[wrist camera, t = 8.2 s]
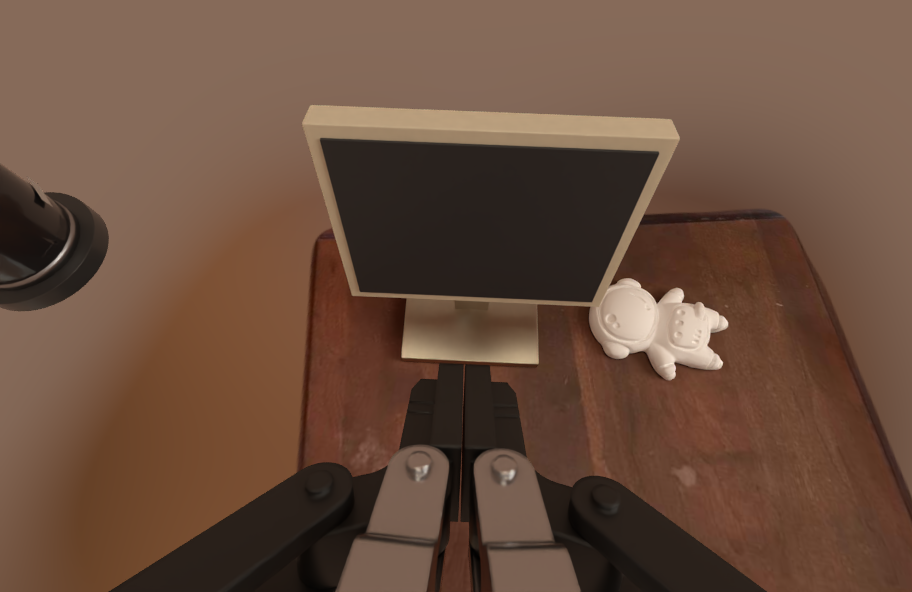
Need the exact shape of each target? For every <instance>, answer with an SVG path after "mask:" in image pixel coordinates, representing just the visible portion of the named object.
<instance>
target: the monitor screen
mask: <svg viewBox="0 0 912 592" xmlns="http://www.w3.org/2000/svg"><path fill="white" fill-rule="evenodd" d="M302 126H303V129H304V132H305V136H306V139H307V143H308V146H309V149H310V153H311V156H312V160H313V163H314V167H315V170H316V174H317V177H318V180H319V184H320V187H321V191H322V194H323V197H324V201H325V204H326V208H327V211H328V215H329V218H330V221H331V225H332V228H333V232H334V235H335V239H336V242H337V246H338V249H339V252H340V256H341V259H342V263H343V266H344V270H345V273H346V277H347V280H348V283H349V287H350V290H351V294H352V296H369V297H391V298H414V299H436V300H458V301H480V302H503V303H525V304H547V305H569V306H592V307H599V306H600V304H601V302H602V300H603V298H604V296H605V293H606V291H607V289H608V287H609V285H610V283H611V281H612V279H613V277H614V275H615V273H616V271H617V269H618V266H619V264H620V262H621V260H622V258H623V256H624V254H625V252H626V250H627V248H628V246H629V244H630V242H631V240H632V237H633V235H634V233H635V231H636V229H637V227H638V225H639V223H640V221H641V219H642V217H643V215H644V213H645V210H646V208H647V206H648V204H649V202H650V200H651V198H652V196H653V194H654V192H655V190H656V188H657V186H658V183H659V181H660V179H661V177H662V175H663V173H664V171H665V169H666V167H667V165H668V163H669V161H670V159H671V157H672V154H673V152H674V150H675V148H676V146H677V144H678V142H679V140H680V137H679V135H678V133H677V131H676V129H675V126H674V124H673V122H672V120H671V119H654V118H653V119H652V118H627V117H603V116H577V115H552V114H525V113H501V112H474V111H450V110H424V109H399V108H398V109H397V108H373V107H347V106H321V105H311V106H310V107H309V109H308V111H307V114H306V116H305V118H304V120H303V122H302Z"/></svg>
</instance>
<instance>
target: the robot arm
mask: <svg viewBox="0 0 912 592" xmlns="http://www.w3.org/2000/svg"><path fill="white" fill-rule="evenodd" d="M28 179H29V180H30V182H31V184H32V185H31V184H30V183H28V182H27V181H25V180H24V179H23V178H21V177H20V176H18V175H17V174H15V173H14V172H12V171H11V170H9V169H8V168H6V167H5V166H3V165H2V164H0V290H4V291H12V290H20V289H24V288H28V287H31V286H34V285H36V284H38V283H40V282H42V281H44V280H46V279H48V278H49V277H51V276H52V275H54V274H55V273H56V272H57V271H59V270H60V269H61V268H62V267H63V266H64V265H65V264H66V263H67V261H68V260H69V259H70V258H71V256H72V255H73V253H74V251H75V249H76V247H77V244H78V241H79V237H80V226H79V222H78V220H77V218H76V216H75V215H74V213H73V212H71V211H70V210H69V209H68V208H66V207H65V206H63V205H62V204H60V203H59V202H57V201H55V200H53V199H51V198H50V197H48V196H47V195H45V194H44V193H43V191H42V190H41V188H40V187H39V185H38V184H37V183H36V182H35V181H33V180H32V179H30V178H29V177H28ZM462 409H463V430H462ZM461 451H462V481H461V522H469V548H468V557H469V570H470V583H471V592H767V591H765V590H764V589H763V588H761V587H760V586H759V585H757V584H756V583H754V582H753V581H752V580H750V579H749V578H748V577H746V576H745V575H744V574H742V573H741V572H740V571H738V570H737V569H736V568H734V567H733V566H731V565H730V564H729V563H727V562H726V561H725V560H723V559H722V558H721V557H719V556H718V555H717V554H715V553H714V552H712V551H711V550H710V549H708V548H707V547H706V546H704V545H703V544H702V543H700V542H699V541H698V540H696V539H695V538H694V537H692V536H691V535H689V534H688V533H687V532H685V531H684V530H683V529H681V528H680V527H679V526H677V525H676V524H675V523H673V522H672V521H671V520H669V519H668V518H666V517H665V516H664V515H662V514H661V513H660V512H658V511H657V510H656V509H654V508H653V507H652V506H650V505H649V504H647V503H646V502H645V501H643V500H642V499H641V498H639V497H638V496H637V495H635V494H634V493H633V492H631V491H630V490H629V489H627V488H626V487H624V486H623V485H621V484H620V483H618V482H616V481H614V480H612V479H609V478H606V477H601V476H588V477H584V478H581V479H580V480H578V481H577V482H576V483H575V484H574V485H573V488H572V487H569V486H566V485H563V484H559V483H556V482H553V481H551V480H549V479H547V478H545V477H543V476H541V475H540V474H539V473H538V472H536V471H535V470H534V467H533V465H532V464H531V462H530V461H529V460H528V459H527V456H526V451H525V445H524V439H523V433H522V427H521V422H520V418H519V410H518V404H517V398H516V393H515V392H514V391H513V389H512V388H511V387H510V386H509V385H508V383H504V382H491V375H490V365H476V364H466V365H465V383H464V403H463V364H451V363H439V371H438V380H434V379H420V381H419V382H418V383H417V384H416V385H415V386H414V387H413V388H412V390H411V395H410V400H409V405H408V409H407V414H406V419H405V424H404V429H403V434H402V438H401V443H400V448H399V451H398V452H396V453H395V454H394V455H393V456H392V458H391V459H390V461H389V464H388V466H386V467H385V468H383V469H381V470H379V471H376V472H374V473H370V474H366V475H361V476H356V477H352V475H351V473H350V472H349V470H348V469H347V468H345V467H344V466H342V465H339V464H336V463H329V462H326V463H317V464H314V465H311V466H308V467H306V468H304V469H302V470H301V471H299V472H297V473H296V474H295V475H293V476H291V477H290V478H288V479H286V480H285V481H283V482H282V483H280V484H278V485H277V486H275V487H274V488H272V489H271V490H269V491H267V492H266V493H264V494H263V495H261V496H259V497H258V498H256V499H255V500H253V501H252V502H250V503H248V504H247V505H245V506H244V507H242V508H240V509H239V510H238V511H236V512H234V513H233V514H231V515H230V516H228V517H226V518H225V519H223V520H221V521H220V522H218V523H217V524H215V525H214V526H212V527H210V528H209V529H207V530H206V531H204V532H202V533H201V534H199V535H198V536H196V537H195V538H193V539H191V540H190V541H188V542H187V543H185V544H184V545H182V546H180V547H179V548H177V549H176V550H174V551H172V552H171V553H169V554H168V555H166V556H164V557H163V558H161V559H160V560H158V561H157V562H155V563H153V564H152V565H150V566H149V567H147V568H145V569H144V570H142V571H141V572H139V573H138V574H136V575H134V576H133V577H131V578H130V579H128V580H126V581H125V582H123V583H122V584H120V585H119V586H117V587H115V588H114V589H112V590H111V591H109V592H441V587H442V580H443V572H444V565H445V557H446V546H447V544H448V541H449V536H450V521H454V522H458V511H459V491H460V471H461Z"/></svg>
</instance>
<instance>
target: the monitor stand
mask: <svg viewBox="0 0 912 592" xmlns="http://www.w3.org/2000/svg"><path fill="white" fill-rule="evenodd" d="M401 359H402V361H406V362H428V363H451V364H476V365H492V366H513V367H534V368H536V367H537V366H538V364H539V357H538V319H537V304H525V303H503V302H480V301H458V300H436V299H414V298H407V299H406V309H405V319H404V330H403V340H402V350H401Z"/></svg>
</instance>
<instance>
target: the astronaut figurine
mask: <svg viewBox="0 0 912 592" xmlns="http://www.w3.org/2000/svg"><path fill="white" fill-rule="evenodd" d="M683 297H684V294H683V291H682V290H681V289H680V288H674V289H671V290H670V291H669V292H668V293H666V294H665V295H664V296H663V298H662V299H661V300H660V301H659V302H658V304H656V301H655V300H654V298H653V297H652V295H651V294H650V293H648V292H647V291H646V290H644V289H642V288H641V285H640V284H639V283H638V282H637V281H635V280H633V279H630V278H626V279H621V280H619V281H618V282H617V283H616V284H615V285H611V286H609V287H608V289H607V291H606V293H605V296H604V298H603V300H602V302H601V304H600V306H599V307H592V306H591V307H590V312H589V324H590V328H591V331H592V333H593V335H594V336H595V338H596V340H597V341H598V342H599V343H600V344H601V345H602V347H603V350H604V352H605V353H606V355H608V356H609V357H611V358H614V359H623V358H625V357H627V356H628V354H629V353H636V352H639V351H644V352H646V353H647V355H648V358H649V360H650V362H651V364H652V366H653V368H654V370H655V371H656V372H657V373H658V374H659V375H660V376H662V377H663V378H664V379H665V380H672V379H673V378H674V377H675V375H676V373H675V370H676V367H675V365H674V362H676V363H679V364H683V365H686V366H689V367H691V368H699V369H705V370H717V369H720V368H721V367H722V365H723V362H722V360H720V357H719V356H718V355H717V354H715V353H714V352H713V350H711V349H710V348H709V347H708V346H707V344H708V342H709V339H710V333H714V332H718V331H721V330H724V329H726V328H727V326H728V322H727V320H726V319H725V318H724V317H723V316H719V314H718V312H716V311H714V310H711V309H708V308H705V307H704V305H703V304H702V303H701V302H697V303H696V304H695V305H693V304H689V303H682V300H683Z"/></svg>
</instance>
